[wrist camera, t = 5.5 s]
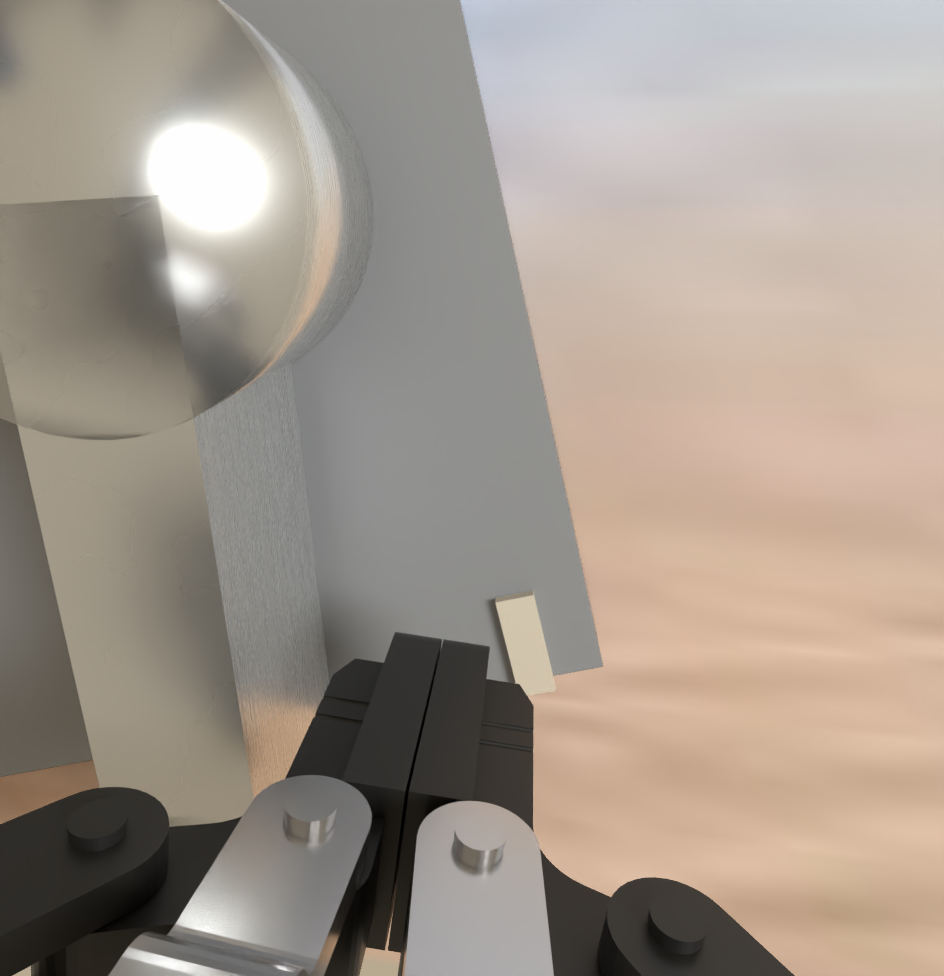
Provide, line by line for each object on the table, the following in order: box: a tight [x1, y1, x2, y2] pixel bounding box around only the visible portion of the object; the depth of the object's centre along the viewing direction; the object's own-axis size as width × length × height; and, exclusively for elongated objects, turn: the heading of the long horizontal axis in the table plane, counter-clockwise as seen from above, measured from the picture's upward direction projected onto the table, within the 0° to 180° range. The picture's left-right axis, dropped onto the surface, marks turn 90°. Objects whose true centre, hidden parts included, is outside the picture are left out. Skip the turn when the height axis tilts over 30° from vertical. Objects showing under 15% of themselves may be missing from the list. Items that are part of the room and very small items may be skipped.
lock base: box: [0, 0, 603, 777], centre depth 15 cm, size 14×14×2 cm
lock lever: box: [0, 0, 374, 827], centre depth 11 cm, size 12×5×4 cm, turn 3°
